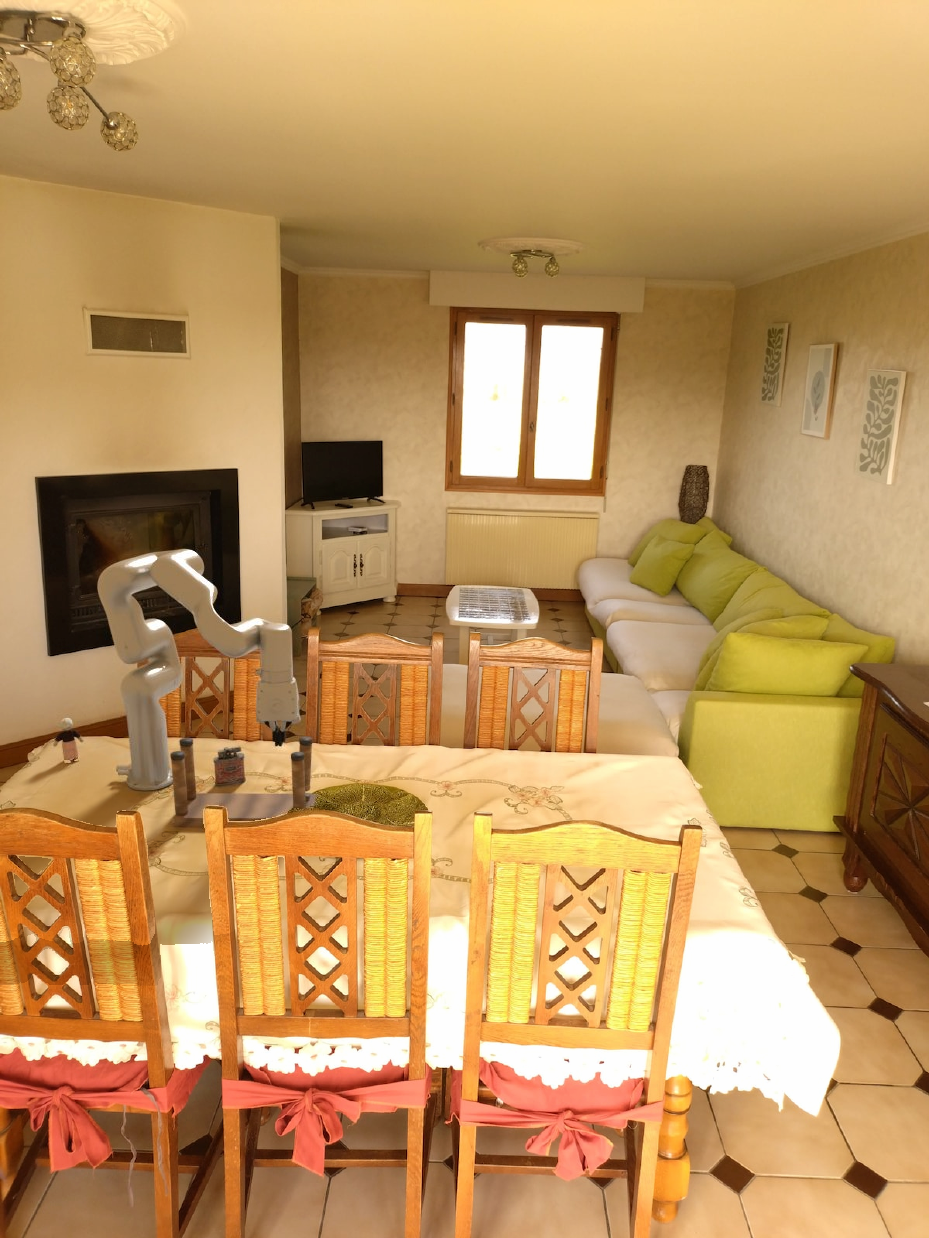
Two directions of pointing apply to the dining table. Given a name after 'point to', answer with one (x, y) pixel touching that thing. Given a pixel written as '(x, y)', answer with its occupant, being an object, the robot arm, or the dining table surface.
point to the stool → (236, 803)
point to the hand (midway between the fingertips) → (279, 744)
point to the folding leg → (306, 758)
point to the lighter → (229, 767)
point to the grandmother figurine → (68, 740)
